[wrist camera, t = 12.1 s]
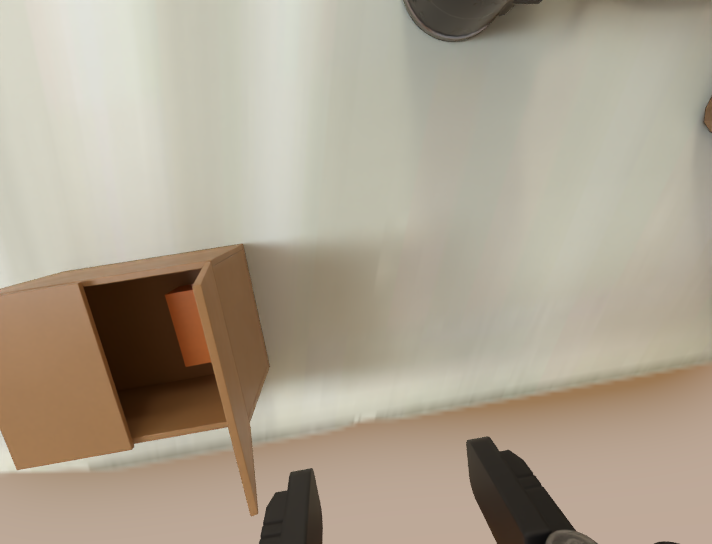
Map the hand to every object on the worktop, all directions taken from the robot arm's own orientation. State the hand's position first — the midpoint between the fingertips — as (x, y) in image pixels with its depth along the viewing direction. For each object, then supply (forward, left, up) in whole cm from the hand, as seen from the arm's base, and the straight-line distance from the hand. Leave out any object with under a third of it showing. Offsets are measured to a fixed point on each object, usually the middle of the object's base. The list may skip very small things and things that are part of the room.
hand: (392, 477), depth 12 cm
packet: (+14, 0, -24) cm, 28 cm away
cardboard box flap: (+9, 0, -10) cm, 13 cm away
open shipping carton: (+18, 0, -24) cm, 30 cm away
